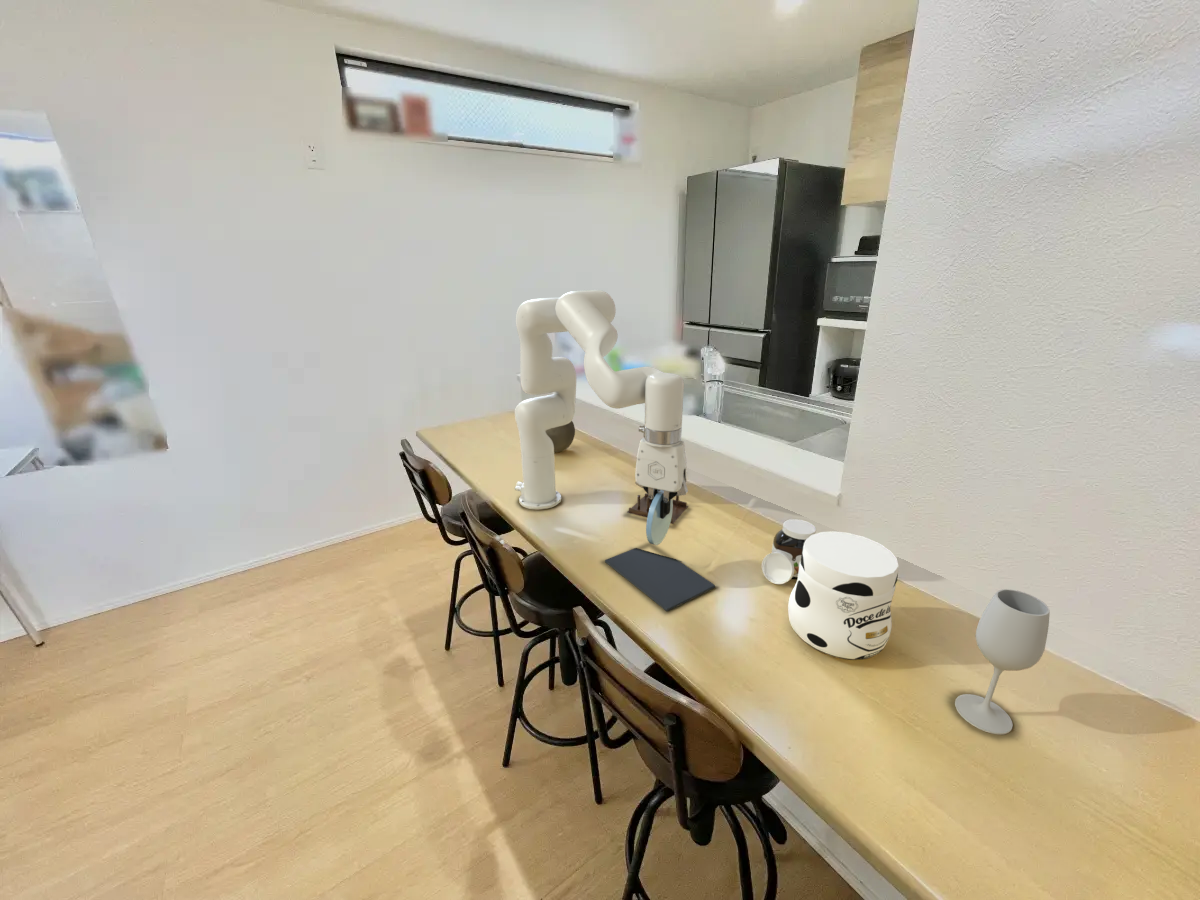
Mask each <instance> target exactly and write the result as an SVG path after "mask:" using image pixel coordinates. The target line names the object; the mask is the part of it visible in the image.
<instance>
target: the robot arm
mask: <svg viewBox="0 0 1200 900" xmlns="http://www.w3.org/2000/svg"><path fill="white" fill-rule="evenodd" d="M616 310H617V309H616V304H615V301H614V299H613V298H612V296H611V295H610V294H609V293H607V292H606V291H605V290H600V289H591V290H590V289H589V290H588V289H587V290H585V289H584V290H572V291H567V292H566V293H564V294H562V295H560V297H541V298H540V297H539V298H533V299H532V298H531V299H529V300H526V301H523V302H522V303H521V304H520V305H519V306H518V308H517V310H516V313H515V327H516V331H517V336H518V340H519V345H520V346H519V347H520V349H519V352H520V353H519V358H520V359H519V360H520V361H519V366H520V367H519V374H520V375H519V376H520V377H519V378H520V387H521V390H522V391H523V392H524V393H525V394H527V395H529V396H534V397H531V398H527V399H524V400H522V401H520V402H519V403H518V404H517V405H516V407H515V409H514V420H515V424H516V428H517V431H518V436H519V447H520V457H521V470H522V472H521V473H522V481H519V480H518V481H517V482H516V483H515V486H514V491H517V492H520V496H519V498H518V502H519V504H520V505H521V506H522V507H524V508H525V509H529V510H536V511H538V510H547V509H551V508H554V507H556V506H558V505H559V504H560V503H561V502H562V494H561V493H560V492H559V491H557V488H556V487H557V486H556V485H557V484H556V467H555V465H556V464H555V463H556V462H555V452H554V445H553V442H552V440H551V439H550V437H549V436H548V435H547V434H546V430H548V429H551V428H555V427H559V426H563V425H566V424H568V423H570V422H571V421H572V422H573V419H574V417H575V413H576V397H577V372H576V368H575V366H574V364H573V361H571V359H569V358H568V357H565V356H554V357H553V343H552V340H551V338H550V336H549V335H548V334H552V333H553V334H555V333H567V332H568V333H569V335H571V337H572V338H573V339H574V341H575V342H576V344H577V345H579V347H580V348H581V349H582V351H584V355H583V356H584V357H583V368H584V375H585V378H586V382H587V383H588V385H589V387H590V388H591V389H592V390H593V392H594V393H595V395H596V396H597V397H598V398H599V400H601V401H602V403H604V404H605V405H606V406H608V407H609V408H612V409H624V408H628V407H632V406H636V405H643V404H644V425H639V427H638V432H639V433H642V434H643V437H642V438H641V439H640V441H639V443H638V449H637V455H636V462H635V473H634V475H635V476H634V477H635V478H634V479H635V482H634V484H635V485H636V486H638V487H639V488H641V489H643V490H644V492H645V493H647V494H648V496H649V498H650V499H651V503H652V501H653V499H654V497H655V495H656V494H657V493H658V492H659V490H664V494H663V500H662V501H661V504H660V518H662V519H664V518H665V517H666V515H667V514H669V513H670V504H671V499H674V498H676V496H679V497H680V496H686V495H687V494H688V493H689V488H688V486H687V485H688V484H687V477H688V466H687V464H688V463H687V451H686V446H685V441H684V440H682V431H683V411H684V391H685V389H684V387H685V383H684V379H683V377H682V376H681V375H680V374H677V373H672V372H665V371H662V370H660V369H659V368H657V367H654V366H639V367H633V368H627V369H622V370H617V371H616V370H614V369H613V368H612V367H611V366H610V364H609V363H608V362H607V361H606V360H605V358H604V357H606V356H607V355H608V354H609V353H610V352H611V351H612V350H613V349H614V348H615V346H616V344H617V341H618V336H619V335H618V331H617V329H616V327H615V326H614V325H613V323H612V322H613V321H614V319H615V318H616V317H615V316H616ZM551 393H552V394H551ZM546 394H548V395H546Z"/></svg>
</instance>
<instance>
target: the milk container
mask: <svg viewBox="0 0 1200 900" xmlns="http://www.w3.org/2000/svg"><path fill="white" fill-rule="evenodd" d="M898 577H899V561H898V558H897V556H895V554H894V553H893V552H892V551H891V549H889V548H887V547H886V546H884V545H883V544H881V543H880V542H877V541H876V540H873V539H871V538H869V537H866V536H863V535H859V534H855V533H852V532H851V533H850V532H844V531H835V530H834V531H832V530H831V531H820V532H817V533H815V534H813V535H811V536H810V537H809V538H807V539H806V540H805V543H804V546H803V549H802V555H801V560H800V564H799V572H798V579H797V580H796V581H795V582H796V583H795V585H794V586H793V588H792V590H791V592H790V594H789V598H788V602H787V610H788V611H787V613H788V621H789V624H790V626H791V628H792V630H793V631H794V633H795V634H796V635H797V636H798V638H799V639H801V641H802V642H804V643H805V644H807V645H808V646H809V647H811V648H813V649H814V650H816V651H818V652H820V653H822V654H825V655H828V656H830V657H833V658H838V659H841V660H842V659H843V660H850V661H857V660H858V661H859V660H867V659H870V658H872V657H874V656H876V655H878V654H880V653H881V652H882V651H883V649H885V646H886V645H887V643H888V641H889V640H890V636H891V633H892V627H893V621H892V612H891V607H892V602H893V599H894V596H895V595H894V594H895V591H896V587H897V586H896V584H897V582H898Z"/></svg>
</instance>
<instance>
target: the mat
mask: <svg viewBox="0 0 1200 900" xmlns="http://www.w3.org/2000/svg"><path fill="white" fill-rule="evenodd" d="M604 563H605V564H607V565H608V566H609V567H610V568H612V569H613V570H614V571H616V572H617V573H618V574H619V575H620V576H622V577H623V578H625V579H626V580H627V582H629V583H631V584H632V586H634V587H635V588H637V589H638V590H639V591H641V592H642V593H643V594H644V595H645V596H646V597H648V598H649V599H651V600H652V601H653V602H654V603H655V604H657V605H658V606H659V607H661V608H662V609H663V610H664V611H665V612H669V611H671V610H673V609H675V608H677V607H679V606H681V605H683V604H685V603H687V602H689V601H691V600H693V599H695V598H697V597H699V596H701V595H703V594H705V593H707V592H709V591H711V590H713V589H715V588H716V584H714V583H713V582H711V581H709V580H708V579H707V578H705V577H704V576H702V575H700V574H699V573H697V572H696V571H695V570H693V569H692V568H690V567H689V566H687V565H685V564H684V563H683V562H681V561H680V560H678V559H676V558H674V557H669V556H666V555H663V554H659V553H657V552H652V551H649V550H645V549H641V548H639V547H635V548H632V549H629V550H627V551H624V552H621V553H619V554H617V555H614V556H611V557H608V558H606V559H605V560H604Z"/></svg>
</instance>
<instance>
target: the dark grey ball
mask: <svg viewBox="0 0 1200 900" xmlns="http://www.w3.org/2000/svg"><path fill="white" fill-rule="evenodd" d="M546 434H547V435H548V436H549V437H550V439H551V440H552V442H553V445H554V453H560V452H562V451H565V450H566V449H568V448H569V447H570V446H571V445H572V443H573V442H574V439H575V435H576V427H575V424H574V422H573V420H572V421H571V422H570V423H568V424H566V425H563V426H559V427H555V428H551V429H548V430H546Z"/></svg>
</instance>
